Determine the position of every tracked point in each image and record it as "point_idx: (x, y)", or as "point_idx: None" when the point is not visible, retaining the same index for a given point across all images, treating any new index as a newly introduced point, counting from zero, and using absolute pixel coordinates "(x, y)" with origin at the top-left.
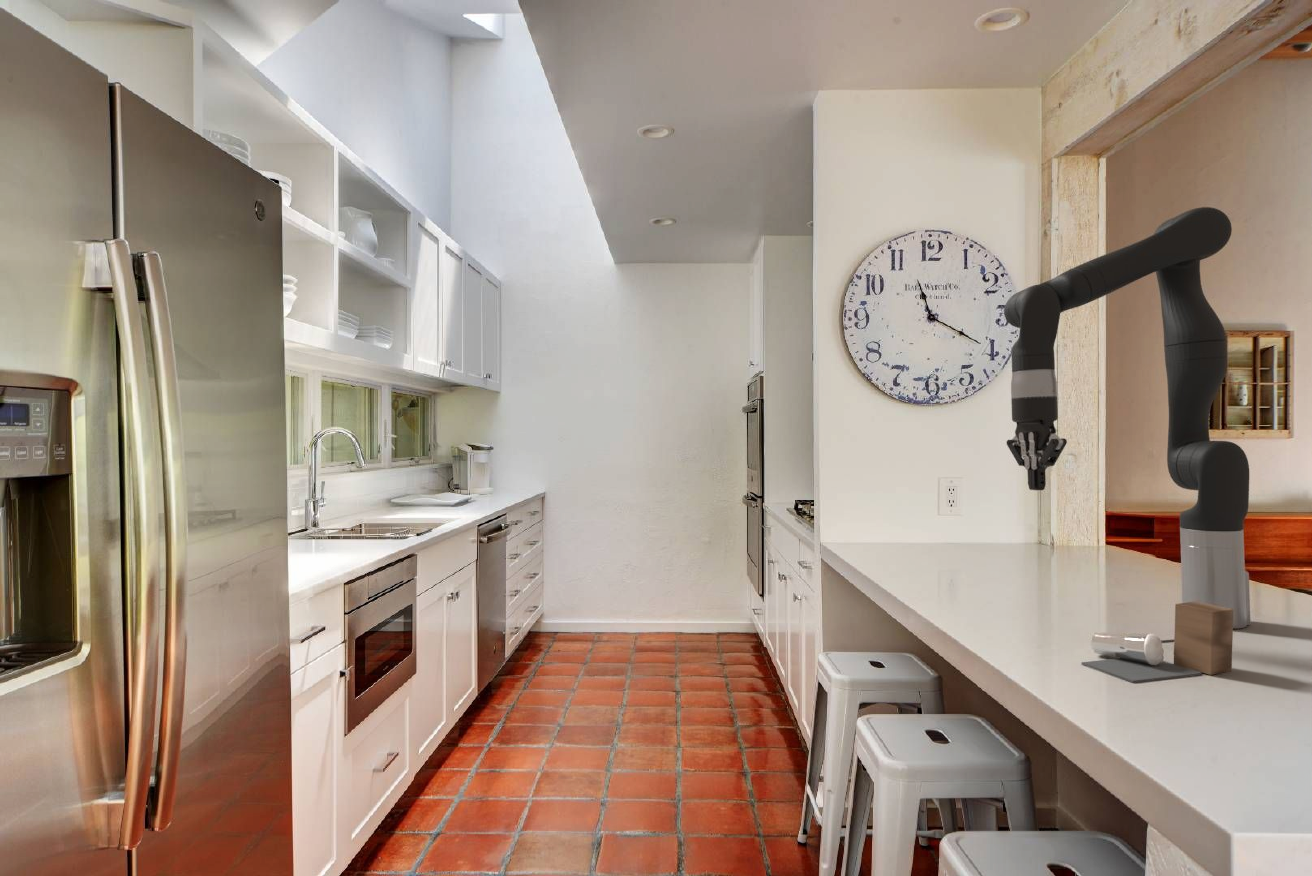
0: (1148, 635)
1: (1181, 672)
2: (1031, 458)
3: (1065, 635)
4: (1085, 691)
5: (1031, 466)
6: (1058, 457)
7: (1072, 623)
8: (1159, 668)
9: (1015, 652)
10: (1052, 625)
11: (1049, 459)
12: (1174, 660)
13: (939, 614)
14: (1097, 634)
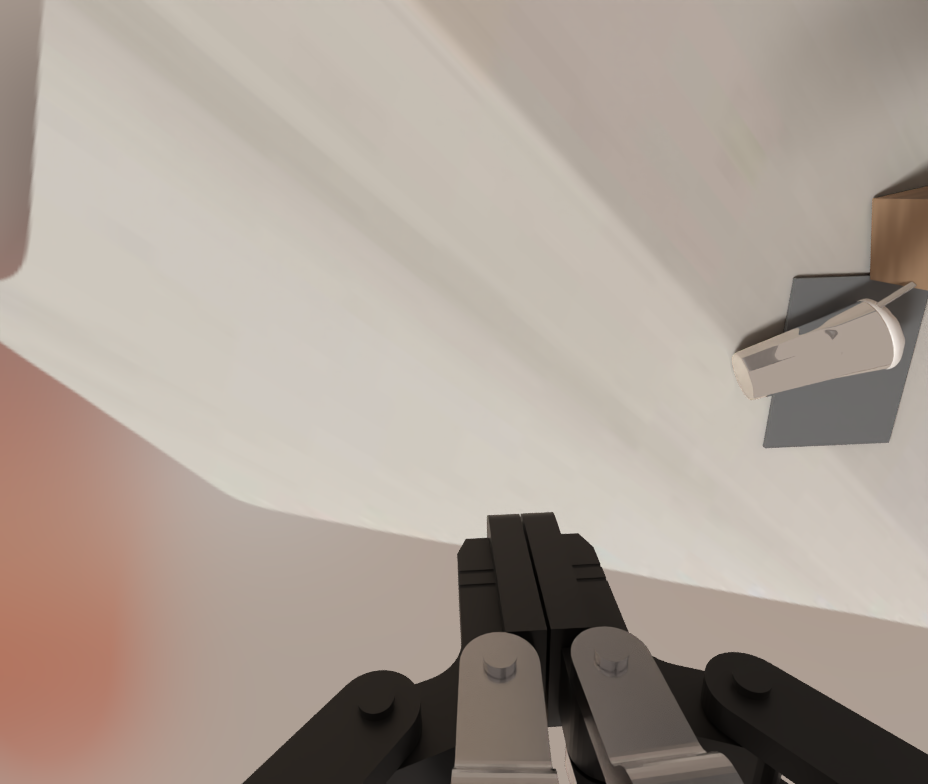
0: (896, 355)
1: (910, 313)
2: (389, 760)
3: (568, 311)
4: (869, 540)
5: (566, 767)
6: (904, 741)
7: (464, 191)
8: None
9: (641, 508)
10: (467, 267)
11: (771, 758)
12: (878, 280)
13: (273, 475)
14: (762, 389)
